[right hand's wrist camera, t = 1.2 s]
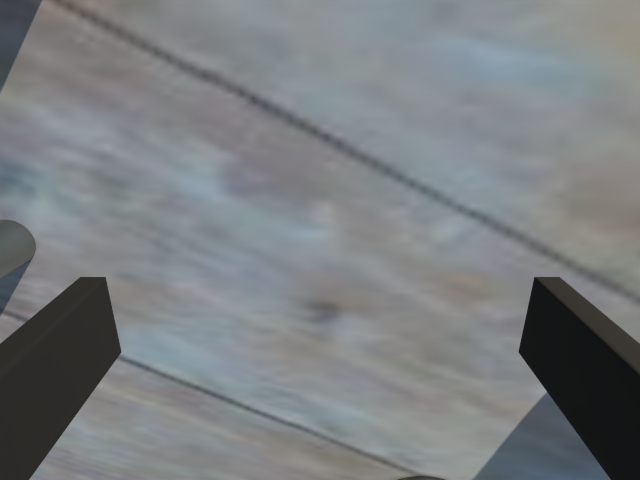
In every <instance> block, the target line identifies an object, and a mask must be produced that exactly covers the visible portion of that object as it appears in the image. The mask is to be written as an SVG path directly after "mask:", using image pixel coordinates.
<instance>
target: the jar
mask: <svg viewBox="0 0 640 480" xmlns="http://www.w3.org/2000/svg"><path fill="white" fill-rule="evenodd" d="M35 250H36V245H35V240H34V238H33V236H32V234H31V233H30V232H29V231H28V230H27V229H26V228H25V227H24V226H23V225H21V224H19V223H17V222H14V221H11V220H0V278H2V277H3V276H5V275H7V274H8V273H10V272H11V271H13V270H15V269H16V268H18V267H19V266H21V265H22V264H24V263H26V262H27V261H29V260H30V259H31V258H32V257H33V256H34V253H35Z"/></svg>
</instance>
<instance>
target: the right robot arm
mask: <svg viewBox="0 0 640 480" xmlns="http://www.w3.org/2000/svg"><path fill="white" fill-rule="evenodd" d="M120 353H121V348H120V343H119V339H118V334H117V329H116V324H115V320H114V315H113V310H112V306H111V301H110V296H109V291H108V287H107V282H106V277H80V278H79V279H78V280H76V281H75V282H74V283H73V284H72V285H70V286H69V287H68V288H67V289H66V290H64V291H63V292H62V293H61V294H60V295H58V296H57V297H56V298H55V299H54V300H52V301H51V302H50V303H49V304H48V305H46V306H45V307H44V308H43V309H42V310H40V311H39V312H38V313H37V314H36V315H34V316H33V317H32V318H31V319H30V320H28V321H27V322H26V323H25V324H24V325H22V326H21V327H20V328H19V329H18V330H16V331H15V332H14V333H13V334H12V335H10V336H9V337H8V338H7V339H6V340H4V341H3V342H2V343H1V344H0V480H29V479H30V478H31V476H32V475H33V473H34V472H35V471H36V469H37V468H38V466H39V465H40V464H41V462H42V461H43V460H44V458H45V457H46V455H47V454H48V453H49V451H50V450H51V449H52V447H53V446H54V444H55V443H56V442H57V440H58V439H59V437H60V436H61V435H62V433H63V432H64V431H65V429H66V428H67V426H68V425H69V424H70V422H71V421H72V420H73V418H74V417H75V415H76V414H77V413H78V411H79V410H80V408H81V407H82V406H83V404H84V403H85V402H86V400H87V399H88V397H89V396H90V395H91V393H92V392H93V391H94V389H95V388H96V386H97V385H98V384H99V382H100V381H101V379H102V378H103V377H104V375H105V374H106V373H107V371H108V370H109V368H110V367H111V366H112V364H113V363H114V362H115V360H116V359H117V357H118V356H119V355H120ZM519 353H520V355H521V356H522V357H523V359H524V360H525V362H526V363H527V364H528V366H529V367H530V368H531V370H532V371H533V373H534V374H535V375H536V377H537V378H538V379H539V381H540V382H541V384H542V385H543V386H544V388H545V389H546V391H547V392H548V393H549V395H550V396H551V397H552V399H553V400H554V402H555V403H556V404H557V406H558V407H559V408H560V410H561V411H562V413H563V414H564V415H565V417H566V418H567V420H568V421H569V422H570V424H571V425H572V426H573V428H574V429H575V431H576V432H577V433H578V435H579V436H580V437H581V439H582V440H583V442H584V443H585V444H586V446H587V447H588V449H589V450H590V451H591V453H592V454H593V455H594V457H595V458H596V460H597V461H598V462H599V464H600V465H601V467H602V468H603V469H604V471H605V472H606V473H607V475H608V476H609V478H610V479H611V480H640V344H639V343H638V342H637V341H636V340H634V339H633V338H632V337H631V336H630V335H628V334H627V333H626V332H625V331H624V330H622V329H621V328H620V327H619V326H618V325H616V324H615V323H614V322H613V321H612V320H610V319H609V318H608V317H607V316H606V315H604V314H603V313H602V312H601V311H600V310H598V309H597V308H596V307H595V306H594V305H592V304H591V303H590V302H589V301H588V300H586V299H585V298H584V297H583V296H582V295H580V294H579V293H578V292H577V291H576V290H574V289H573V288H572V287H571V286H570V285H568V284H567V283H566V282H565V281H564V280H562V279H561V278H560V277H534V282H533V287H532V291H531V296H530V301H529V306H528V310H527V315H526V320H525V324H524V329H523V334H522V339H521V343H520V348H519ZM399 480H444V479H440V478H436V477H428V476H416V477H408V478H403V479H399Z"/></svg>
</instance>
